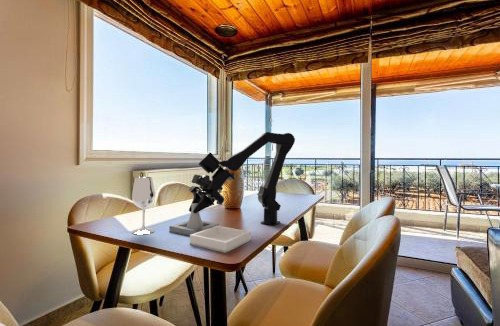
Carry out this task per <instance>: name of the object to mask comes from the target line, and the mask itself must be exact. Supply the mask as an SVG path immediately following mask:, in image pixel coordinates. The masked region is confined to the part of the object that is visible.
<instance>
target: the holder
mask: <svg viewBox="0 0 500 326" xmlns="http://www.w3.org/2000/svg"><path fill="white" fill-rule="evenodd" d="M188 221H189V220H186V221H184V222H180V223H175V224H173V225H169V226H168V228H169V231H168V232H170V233H175V234H180V235H184V236H186V237H187V236H189V237H190V235H191V234H194V233H197V232H200V231H203V230H206V229H209V228H212V227H215V226H220V224H219V223H216V222H211V221H206V220H205V221H204V220H202V223H203V226H204V227H201V228H198V229H192V228H187V224H188Z"/></svg>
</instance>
